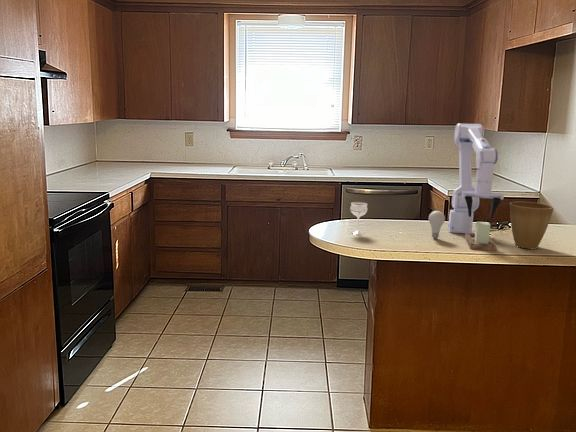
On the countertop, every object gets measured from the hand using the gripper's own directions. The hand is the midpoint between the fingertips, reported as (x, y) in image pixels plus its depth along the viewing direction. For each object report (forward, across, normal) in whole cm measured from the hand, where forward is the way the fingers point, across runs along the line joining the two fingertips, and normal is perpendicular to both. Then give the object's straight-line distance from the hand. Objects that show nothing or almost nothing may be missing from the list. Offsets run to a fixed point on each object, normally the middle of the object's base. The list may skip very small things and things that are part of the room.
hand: (480, 217), depth 207 cm
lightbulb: (+10, -16, +3) cm, 19 cm away
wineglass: (+11, -46, +3) cm, 47 cm away
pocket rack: (+10, 0, -1) cm, 10 cm away
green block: (+10, 0, -5) cm, 11 cm away
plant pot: (+10, +18, +1) cm, 20 cm away
